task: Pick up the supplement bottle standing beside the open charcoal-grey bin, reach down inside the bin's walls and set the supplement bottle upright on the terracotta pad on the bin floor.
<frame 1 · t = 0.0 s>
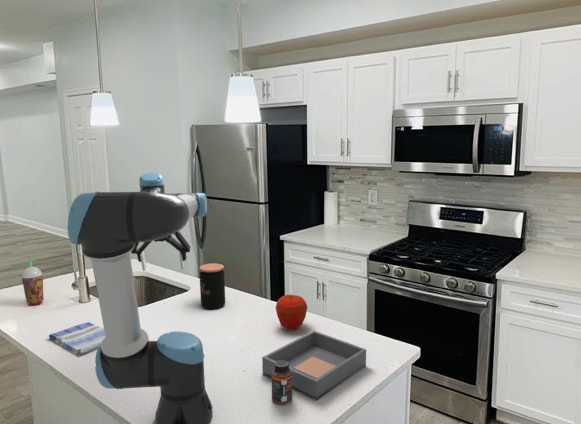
hand: (163, 267, 169), 28 cm above the counter, tool tilted 20°, fingers open, 13 cm apart
smoothie: (35, 304, 211), on the counter
coffee jar: (213, 306, 207), on the counter
bin: (315, 370, 151), on the counter
apple: (291, 328, 183), on the counter
dish towel: (85, 341, 175), on the counter
supplement bottle: (282, 400, 136), on the counter
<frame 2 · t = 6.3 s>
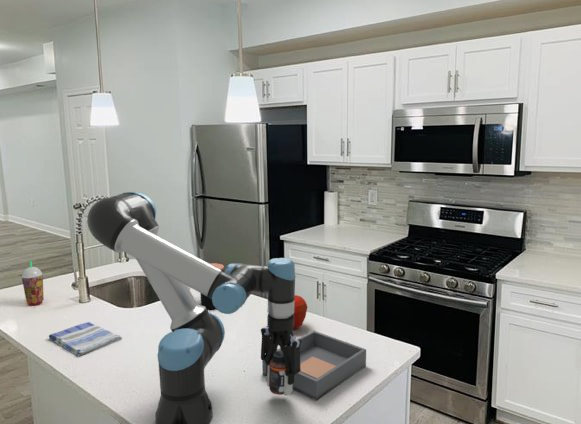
hand: (279, 388, 135), 3 cm above the counter, tool pointing down, fingers closed on supplement bottle, 6 cm apart
supplement bottle: (279, 390, 135), point 3 cm above the counter, touching gripper
everything else where it was.
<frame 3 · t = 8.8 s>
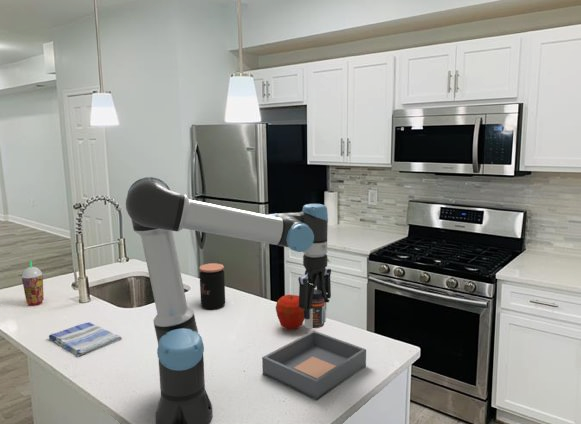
hand: (315, 324, 149), 16 cm above the counter, tool pointing down, fingers closed on supplement bottle, 6 cm apart
supplement bottle: (315, 325, 149), point 15 cm above the counter, touching gripper
everything else where it was.
when the fingers open (2 cm above the counter, at t = 11.4 s): supplement bottle stays where it is, resting on bin.
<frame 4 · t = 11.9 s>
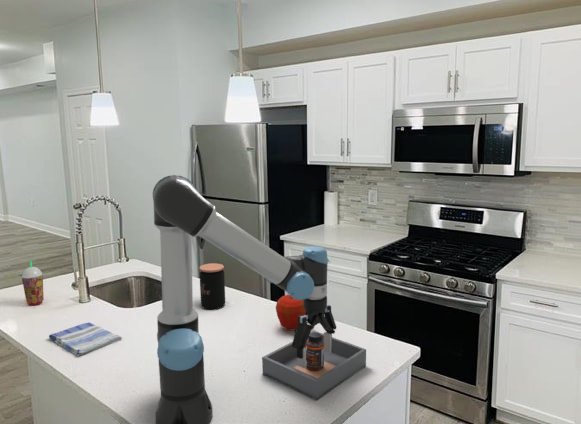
hand: (315, 358, 151), 4 cm above the counter, tool pointing down, fingers open, 12 cm apart
supplement bottle: (314, 367, 151), point 1 cm above the counter, touching bin
everything else where it was.
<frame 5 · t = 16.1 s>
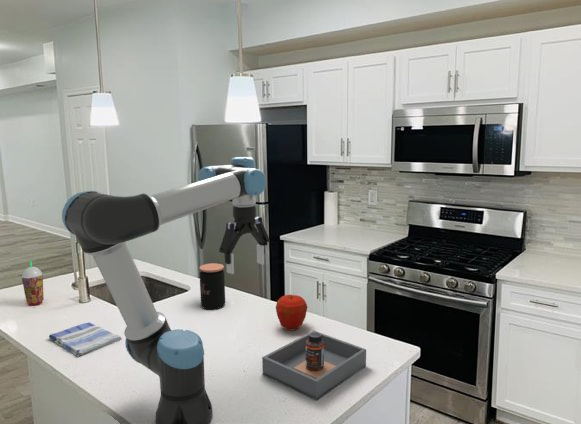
hand: (245, 268, 155), 32 cm above the counter, tool pointing down, fingers open, 13 cm apart
nothing on the counter moved.
at the end: supplement bottle inside the target area on the bin (0.1 cm from its centre), point 1.0 cm above the bin's base; supplement bottle tilted 0°; the gripper is holding nothing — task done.
